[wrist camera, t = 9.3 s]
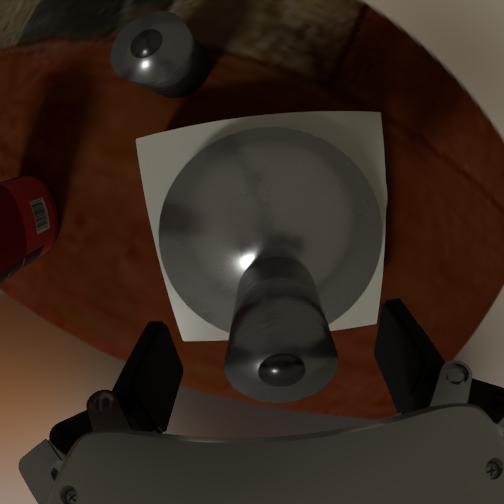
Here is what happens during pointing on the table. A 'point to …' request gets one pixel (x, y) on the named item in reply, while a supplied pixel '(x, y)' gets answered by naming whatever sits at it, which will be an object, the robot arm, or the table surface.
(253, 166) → the pan
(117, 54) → the spacer
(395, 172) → the table surface
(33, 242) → the canned food
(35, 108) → the table surface
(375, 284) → the scale
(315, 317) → the spacer
